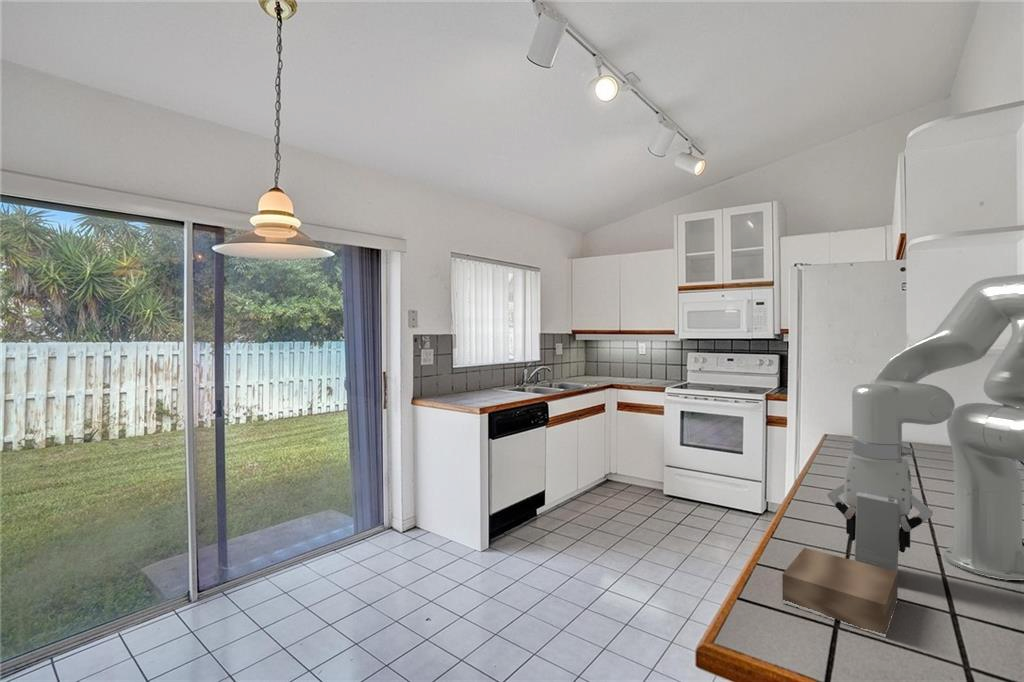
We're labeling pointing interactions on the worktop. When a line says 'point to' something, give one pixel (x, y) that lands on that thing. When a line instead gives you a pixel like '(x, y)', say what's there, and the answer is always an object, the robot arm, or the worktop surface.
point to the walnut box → (842, 589)
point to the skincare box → (877, 531)
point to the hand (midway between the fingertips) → (877, 543)
